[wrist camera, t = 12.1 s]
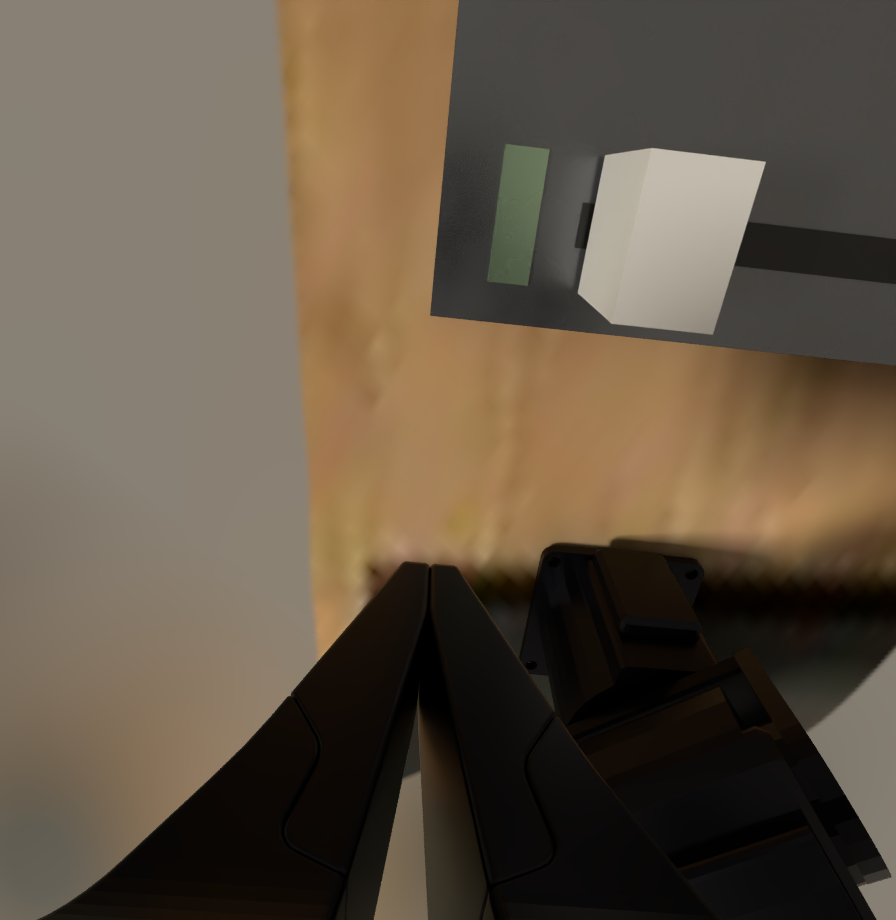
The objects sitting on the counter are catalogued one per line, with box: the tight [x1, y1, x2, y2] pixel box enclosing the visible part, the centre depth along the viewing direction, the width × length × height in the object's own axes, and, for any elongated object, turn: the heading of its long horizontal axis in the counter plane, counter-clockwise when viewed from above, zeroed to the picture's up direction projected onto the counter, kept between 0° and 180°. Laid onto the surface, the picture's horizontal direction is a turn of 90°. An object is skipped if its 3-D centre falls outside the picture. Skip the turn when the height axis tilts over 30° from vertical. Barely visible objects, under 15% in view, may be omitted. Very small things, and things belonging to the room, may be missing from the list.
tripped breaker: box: [578, 148, 766, 335], centre depth 14 cm, size 4×2×4 cm, turn 174°
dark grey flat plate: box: [430, 0, 896, 366], centre depth 15 cm, size 16×19×2 cm
